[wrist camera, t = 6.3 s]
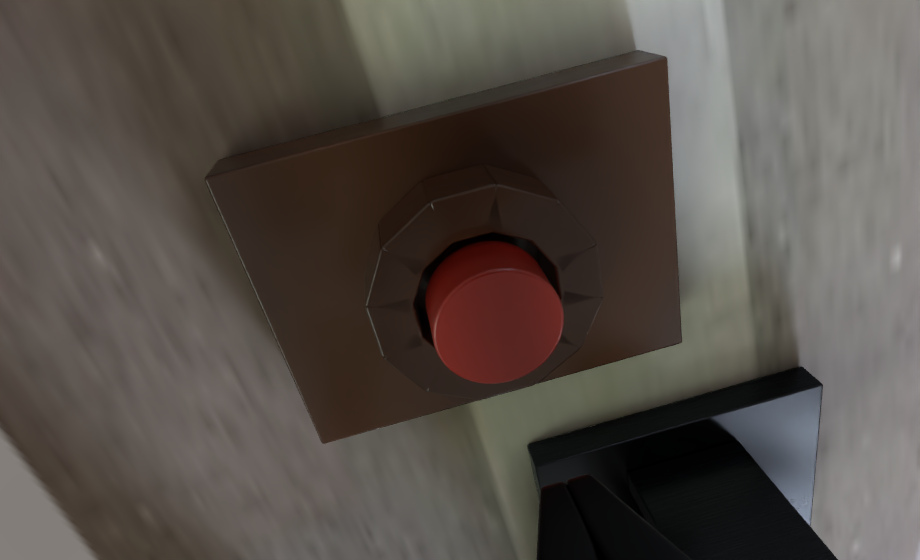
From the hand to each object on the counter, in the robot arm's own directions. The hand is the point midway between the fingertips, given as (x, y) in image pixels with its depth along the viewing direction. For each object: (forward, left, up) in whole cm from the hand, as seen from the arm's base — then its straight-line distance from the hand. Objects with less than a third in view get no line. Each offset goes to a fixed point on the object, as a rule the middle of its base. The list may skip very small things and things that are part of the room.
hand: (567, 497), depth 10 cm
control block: (0, 0, -10) cm, 10 cm away
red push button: (0, 0, -7) cm, 7 cm away
